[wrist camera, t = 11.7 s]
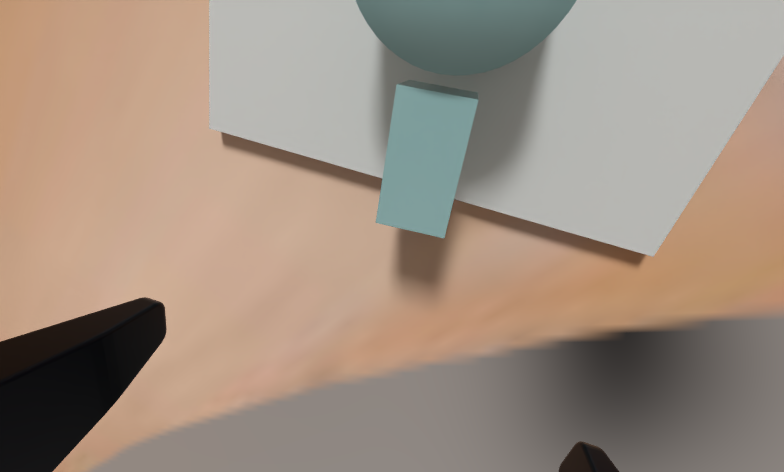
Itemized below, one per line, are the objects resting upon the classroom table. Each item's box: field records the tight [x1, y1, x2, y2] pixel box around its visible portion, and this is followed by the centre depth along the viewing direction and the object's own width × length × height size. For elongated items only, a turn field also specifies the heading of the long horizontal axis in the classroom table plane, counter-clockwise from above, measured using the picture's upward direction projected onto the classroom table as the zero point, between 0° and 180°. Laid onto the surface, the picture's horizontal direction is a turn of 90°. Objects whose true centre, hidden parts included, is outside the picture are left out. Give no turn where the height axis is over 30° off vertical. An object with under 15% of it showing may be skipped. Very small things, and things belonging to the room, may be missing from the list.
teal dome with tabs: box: [356, 0, 576, 238], centre depth 12 cm, size 12×6×4 cm, turn 171°
